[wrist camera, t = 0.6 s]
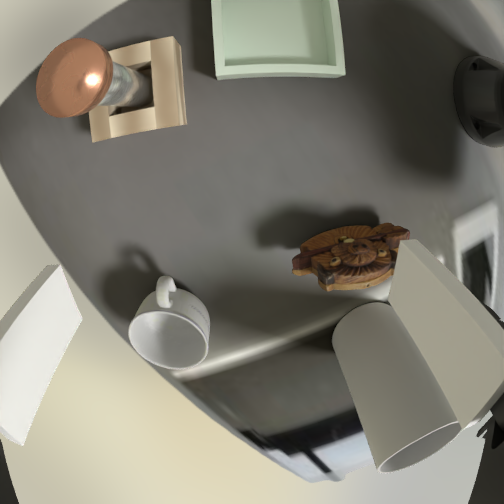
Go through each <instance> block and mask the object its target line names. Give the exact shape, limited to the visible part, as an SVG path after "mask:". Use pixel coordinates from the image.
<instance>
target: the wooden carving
mask: <svg viewBox="0 0 504 504" xmlns="http://www.w3.org/2000/svg"><path fill="white" fill-rule="evenodd" d="M409 236H410V231H409V230H408V229H404V228H403V227H401V226H394V225H393V224H391V223H384V224H380V225H378V226H376V227H374V228H373V229H372V228H371V227H369V226H363V225H360V226H358V225H357V226H345V227H341V228H336V229H332V230H330V231H326V232H323V233H320V234H318V235H316V236H314V237H312V238H310V239H309V240H307V241H305V242H304V243H302V245H301V246H300V251H301V253H300V254H298V255H296V256H295V257H294V258H293V259H292V264H293V269H292V273H293V274H295V275H299V276H302V275H306V274H310V273H313V274H315V275H316V276H317V277H318V283H319V286H320V287H321V288H322V289H324V290H325V291H331V290H333V289H336V290H353V289H365V288H369V287H371V286H375V285H377V284H379V283H381V282H383V281H384V280H386V279H387V278H388V277H390V276H391V275H394V270H395V265H396V260H397V255H398V250H399V244H400V240H409Z"/></svg>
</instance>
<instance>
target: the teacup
mask: <svg viewBox="0 0 504 504" xmlns="http://www.w3.org/2000/svg"><path fill="white" fill-rule="evenodd" d="M209 333H210V318H209V314H208V311H207V309H206V307H205V306H204V304H203V303H202V302H201V300H199V299H198V298H197V297H196V296H195V295H193V294H192V293H190V292H188V291H185V290H182V289H179V288H176V286H175V284H174V281H173V279H172V278H171V277H169V276H161V277H160V278H159V279H158V282H157V286H156V291H154V292H152V293H151V294H149V295H148V296H147V297H146V298H145V299H144V301H143V302H142V304H141V305H140V307H139V309H138V311H137V313H136V315H135V317H134V318H133V319H132V321H131V323H130V325H129V330H128V335H129V339H130V342H131V344H132V346H133V347H134V349H135V350H136V351H137V352H138V353H139V354H140V355H141V356H142V357H143V358H145V359H146V360H148V361H149V362H151V363H153V364H156V365H158V366H161V367H165V368H168V369H188V368H191V367H194V366H196V365H198V364H199V363H201V362H202V361H203V360H204V358H205V357H206V355H207V353H208V341H209Z"/></svg>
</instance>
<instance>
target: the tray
mask: <svg viewBox="0 0 504 504" xmlns="http://www.w3.org/2000/svg"><path fill="white" fill-rule="evenodd" d="M211 6H212V24H213V40H214V55H215V70H216V77H217V80H224V79H237V78H253V77H322V78H338V77H341V76H344V75H346V74H345V61H344V49H343V39H342V30H341V22H340V14H339V7H338V0H211Z"/></svg>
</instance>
